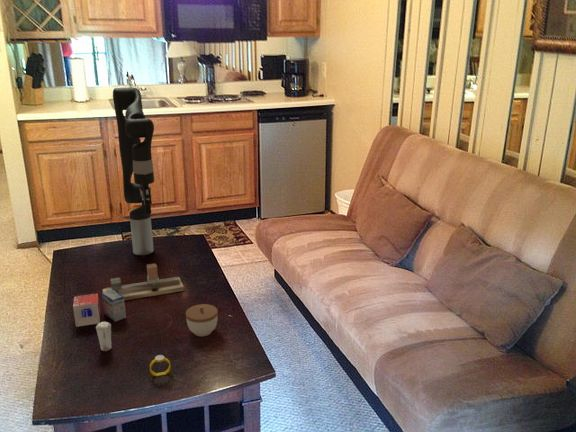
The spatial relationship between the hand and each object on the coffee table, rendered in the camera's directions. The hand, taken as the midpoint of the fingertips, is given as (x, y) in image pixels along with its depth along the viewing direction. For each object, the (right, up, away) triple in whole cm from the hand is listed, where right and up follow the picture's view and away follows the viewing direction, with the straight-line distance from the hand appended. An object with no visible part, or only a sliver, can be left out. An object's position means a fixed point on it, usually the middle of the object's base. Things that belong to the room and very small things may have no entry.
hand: (147, 210), depth 206 cm
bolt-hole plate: (-1, -32, -1) cm, 32 cm away
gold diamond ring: (+18, -49, -52) cm, 74 cm away
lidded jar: (+27, -42, -29) cm, 58 cm away
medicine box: (-6, -38, -19) cm, 43 cm away
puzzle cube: (-15, -39, -21) cm, 47 cm away
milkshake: (-2, -45, -39) cm, 60 cm away
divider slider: (+3, -30, 0) cm, 30 cm away
